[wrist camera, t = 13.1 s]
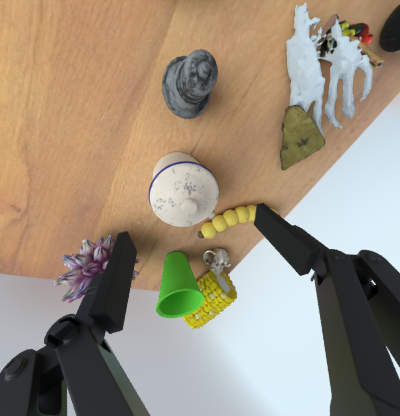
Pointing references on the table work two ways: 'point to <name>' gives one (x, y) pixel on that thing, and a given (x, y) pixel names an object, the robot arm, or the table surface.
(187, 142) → the table surface
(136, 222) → the table surface
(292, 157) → the stone
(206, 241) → the table surface
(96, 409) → the robot arm
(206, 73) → the grey carved upright piece
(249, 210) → the yellow segmented curved bar
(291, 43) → the decorative object
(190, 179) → the teacup with lid
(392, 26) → the billiard ball
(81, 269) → the flower
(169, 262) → the cup
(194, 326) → the food
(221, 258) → the ornament
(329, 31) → the toy figure
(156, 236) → the table surface
